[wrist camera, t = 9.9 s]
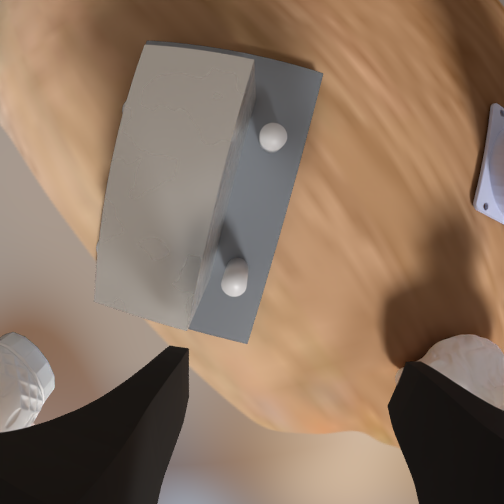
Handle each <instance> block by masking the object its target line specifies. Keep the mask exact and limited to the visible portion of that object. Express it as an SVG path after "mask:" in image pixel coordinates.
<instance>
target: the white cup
mask: <svg viewBox="0 0 504 504" xmlns="http://www.w3.org/2000/svg"><path fill="white" fill-rule="evenodd" d="M54 388H55V381H54V374H53V371H52V369H51V367H50V365H49V362H48V360H47V359H46V358H45V356H44V355H43V354H42V352H41V351H40V350H39V348H38V347H37V346H36V345H34V344H33V343H32V342H31V341H29V340H28V339H27V338H26V337H25V336H22V335H20V334H17V333H14V332H12V333H8V334H5V335H3V336H2V337H0V432H8V431H13V430H18V429H22V428H26V427H30V426H31V424H32V423H33V422H34V420H35V419H36V417H37V415H38V413H39V412H40V410H41V408H42V405H43V404H44V402H45V400H46V399H47V398H48V396H49V395H50V394H51V392H52V391H53V389H54Z"/></svg>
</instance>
